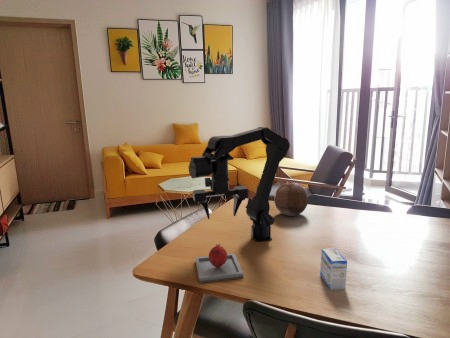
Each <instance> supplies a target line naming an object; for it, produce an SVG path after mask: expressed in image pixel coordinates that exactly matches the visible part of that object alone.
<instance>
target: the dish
mask: <svg viewBox="0 0 450 338" xmlns="http://www.w3.org/2000/svg"><path fill="white" fill-rule="evenodd" d="M195 265H196V266H195V267H196V270H197V271H196V272H197V275H198V282H199V283H200V284H202V283H210V282H218V281H229V280H235V279H244V272H243V270H242V268H241V265H240V263H239V261H238V259H237V256H236V255H235V253H227V261H226V262H225V264H223V265H222V266H221V267H219V268H217V267H215V266H213V265H212V264H211V263H210V261H209V255H207V256H196V257H195Z"/></svg>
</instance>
